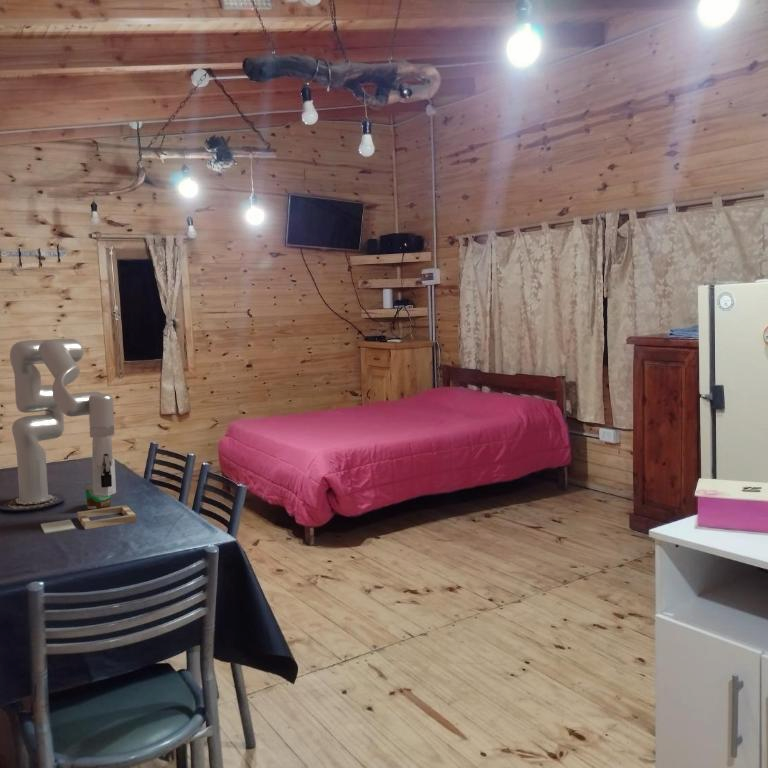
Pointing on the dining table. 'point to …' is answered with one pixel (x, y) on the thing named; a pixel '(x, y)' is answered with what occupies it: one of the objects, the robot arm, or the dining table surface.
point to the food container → (96, 498)
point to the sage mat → (57, 526)
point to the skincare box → (97, 480)
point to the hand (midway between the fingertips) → (104, 484)
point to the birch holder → (87, 524)
